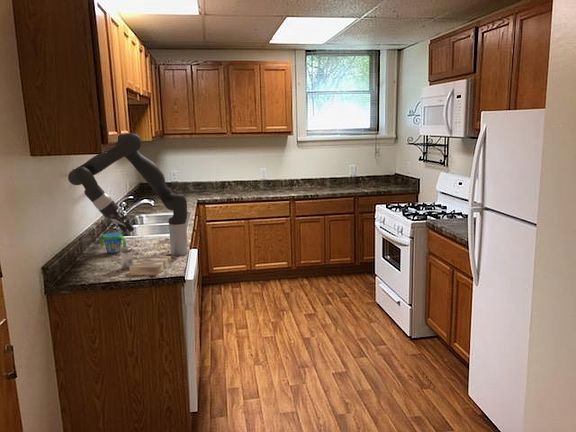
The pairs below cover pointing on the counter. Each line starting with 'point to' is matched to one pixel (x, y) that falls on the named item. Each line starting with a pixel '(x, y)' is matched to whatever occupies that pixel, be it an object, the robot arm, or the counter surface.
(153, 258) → the stand
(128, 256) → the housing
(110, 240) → the snack cup
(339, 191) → the counter surface
